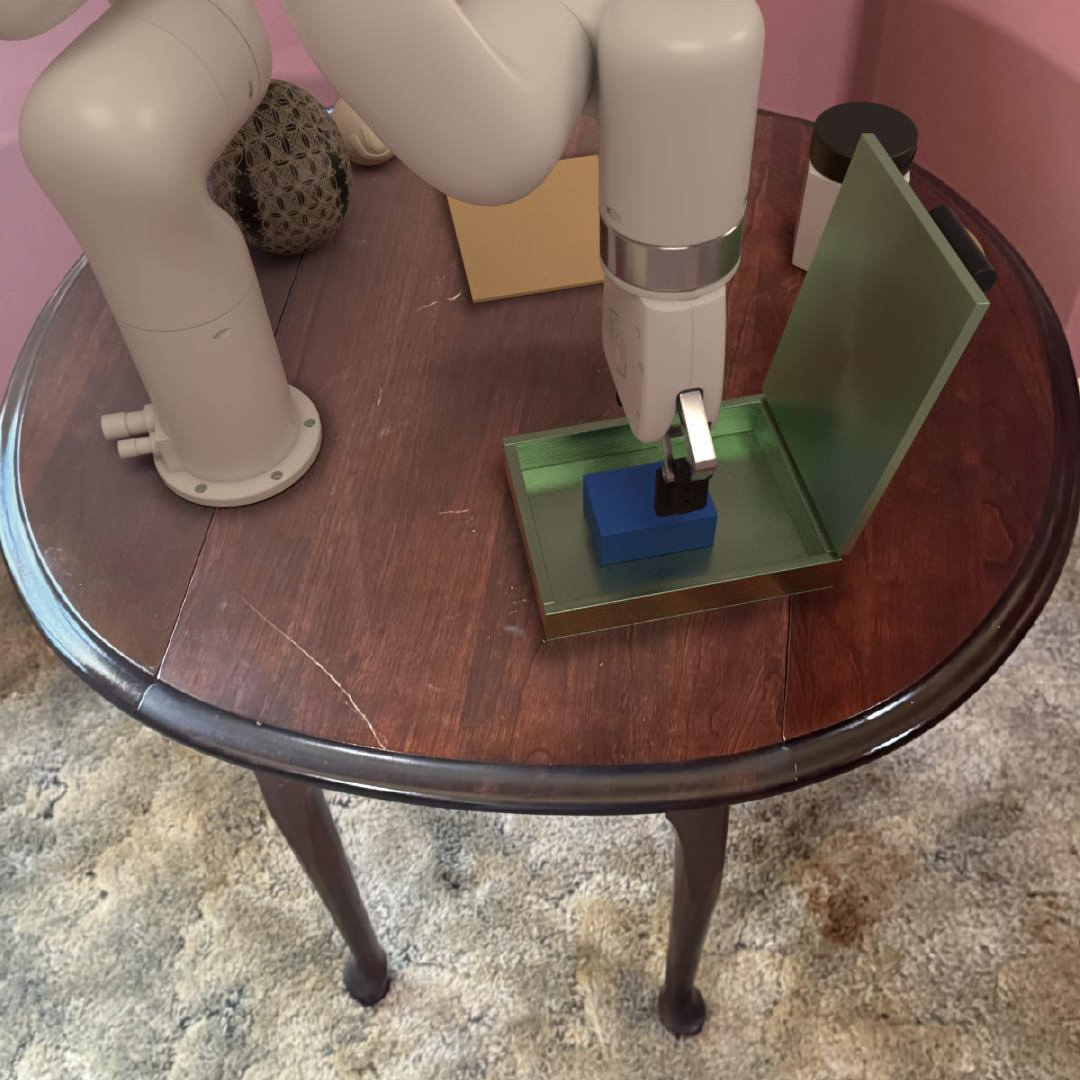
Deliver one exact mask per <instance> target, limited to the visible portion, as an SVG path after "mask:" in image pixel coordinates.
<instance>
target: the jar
mask: <svg viewBox="0 0 1080 1080" xmlns="http://www.w3.org/2000/svg"><path fill="white" fill-rule="evenodd" d="M862 133H873V134H874V135H875V136H876V138H877V139H878V141H879V142H880V144H881V145H882V146H883V148H884V149H885V151H886V152H887V154H888V155H889V157H890V158H891V160H892V161H893V162H894V164H895V165H896V167H897V168H898V170H899V171H900V173H901V174H902V176H903V177H904V178H905V180H906V181H907V183H908V184H909V185H910V181H911V179H910V177H911V174H910V171H911V167H912V164H913V162H914V161H915V157H916V154H917V150H918V142H919V137H920V136H919V135H920V134H919V130H918V127H917V125H916V123H915V122H914V120H913V119H912V118H910V117H909V116H908V115H907V114H906V113H904V112H902V111H901V110H898V109H896V108H895V107H893V106H889V105H886V104H883V103H882V104H881V103H879V102H872V101H849V102H842V103H839V104H835V105H832V106H830V107H828V108H826V109H825V110H823V111H822V112H821V113H820V114H819V115H818V116H817V117H816V118H815V121H814V123H813V126H812V131H811V138H810V143H809V148H808V154H807V160H806V165H805V170H804V175H803V181H802V188H801V191H800V197H799V203H798V208H797V214H796V215H797V216H796V220H795V225H794V232H793V243H792V254H791V255H792V256H791V265H792V266H794V267H796V268H799V269H800V270H803V271H805V272H807V271H808V269H809V266H810V264H811V261H812V259H813V256H814V254H815V251H816V249H817V246H818V244H819V241H820V239H821V236H822V233H823V231H824V228H825V226H826V223H827V221H828V218H829V216H830V213H831V211H832V208H833V206H834V203H835V201H836V198H837V196H838V193H839V190H840V188H841V185H842V183H843V180H844V178H845V175H846V173H847V170H848V168H849V165H850V163H851V160H852V158H853V155H854V153H855V150H856V147H857V145H858V142H859V140H860V137H861V135H862Z"/></svg>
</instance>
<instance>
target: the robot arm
mask: <svg viewBox="0 0 1080 1080" xmlns="http://www.w3.org/2000/svg"><path fill="white" fill-rule="evenodd" d="M280 1H281V3H282V6H283V8H284V10H285V13H286V14H287V17H288V19H289V21H290V23H291V25H292V27H293V29H294V31H295V32H296V35H297V36H298V39H299V41H300V42H301V44H302V46H303V47H304V50H305V51H306V53H307V55H308V56H309V57H310V59H311V61H312V62H313V63H314V65H315V66H316V68H317V70H318V71H319V72H320V74H321V75H322V76H323V77H324V79H325V80H326V81H327V82H328V83H329V85H330V86H331V87H332V88H333V90H334V91H335V92H336V93H337V94H338V95H339V97H340V98H341V97H342V99H343V100H344V101H345V102H346V103H347V104H348V105H349V106H350V107H351V108H352V109H353V110H354V111H355V112H356V114H357V115H358V116H359V117H360V118H361V119H362V120H363V121H364V122H365V123H366V125H367V126H368V127H369V128H370V129H371V130H372V131H373V132H374V133H375V135H376V136H377V137H378V138H379V139H380V140H381V141H382V142H383V143H384V144H385V145H386V146H387V147H388V148H389V150H390V151H391V152H392V153H393V154H394V156H395V157H396V158H397V159H398V160H399V161H401V162H402V163H403V165H404V166H406V167H407V168H408V169H409V170H410V171H412V172H413V173H414V174H415V175H417V176H418V177H419V178H420V179H421V180H422V181H424V182H425V183H426V184H428V185H429V186H431V187H433V188H434V189H436V190H437V191H439V192H440V193H442V194H444V195H445V196H446V195H448V196H450V197H452V198H454V199H456V200H459V201H461V202H464V203H468V204H472V205H477V206H494V207H495V206H500V205H505V204H510V203H513V202H515V201H518V200H520V199H522V198H524V197H526V196H527V195H529V194H530V193H531V192H533V191H534V190H535V189H536V188H538V187H539V186H540V185H541V184H542V183H543V182H544V181H545V180H546V178H547V177H548V176H549V174H550V173H551V172H552V170H553V169H554V167H555V165H556V164H557V162H558V160H560V158H561V156H562V155H563V152H564V151H565V149H566V147H567V145H568V143H569V141H570V139H571V138H572V135H573V133H574V131H575V129H576V127H577V125H578V123H579V120H580V119H581V118H582V117H590V118H591V119H593V120H594V121H595V123H596V126H597V155H598V199H599V261H600V264H601V267H602V270H603V271H604V283H603V292H602V293H603V294H602V314H601V342H602V343H601V344H602V348H603V352H604V356H605V359H606V363H607V366H608V368H609V371H610V372H609V373H610V374H611V377H612V380H613V383H614V385H615V386H614V387H615V401H616V403H617V405H618V407H620V408H622V409H623V411H624V415H625V417H627V420H628V422H629V425H630V427H631V430H632V432H633V434H634V435H635V437H636V438H637V439H638V440H640V441H641V442H643V443H645V444H647V443H652V442H658V447H659V453H660V460H661V467H660V468H658V469H656V477H655V497H654V510H655V513H656V515H657V516H658V517H665V516H670V515H675V514H678V515H680V514H686V513H690V512H693V511H696V510H701V509H703V508H705V507H706V505H707V496H708V486H709V478H712V476H713V472H715V469H716V468H717V460H716V455H715V451H714V447H713V443H712V438H711V434H710V431H711V430H712V429H713V428H714V427H715V425H716V423H717V421H718V417H719V413H720V407H721V400H723V391H724V378H725V364H726V363H725V361H726V340H727V339H726V335H727V333H726V332H727V288H726V287H727V286H726V285H727V283H728V282H729V281H730V280H732V279H733V277H734V276H735V274H736V273H737V271H738V269H739V267H740V265H741V257H742V248H743V247H742V246H743V238H744V229H745V220H746V212H747V202H748V196H749V195H748V194H749V185H750V176H751V167H752V166H751V165H752V159H753V152H754V151H753V150H754V142H755V134H756V124H757V115H758V107H759V98H760V89H761V80H762V73H763V63H764V56H765V55H764V54H765V42H766V41H765V40H766V28H765V20H764V17H763V14H762V11H761V8H760V6H759V5H758V3H757V1H756V0H459V1H457V0H280ZM88 2H89V0H0V41H5V42H17V41H18V42H21V41H27V40H30V39H33V38H35V37H39V36H41V35H44V34H46V33H48V32H49V31H52V30H53V29H55V28H56V27H57V26H59V25H61V24H62V23H64V21H66V20H67V19H68V18H70V17H71V16H73V14H75V13H76V12H77V11H78V10H79V9H81V8H82V7H83V5H85V4H86V3H88ZM107 2H108V4H109V5H110V6H109V7H108V8H107V9H106V10H105V11H104V12H103V13H102V14H101V15H100V16H99V17H98V18H97V19H95V20H94V21H93V22H91V23H90V24H89V25H87V27H85V29H83V31H81V32H80V33H79V35H77V36H76V37H75V38H74V39H73V40H72V41H71V42H70V43H69V44H68V45H67V46H66V47H65V48H64V49H63V50H61V51H60V52H59V54H58V55H57V56H55V57H54V58H53V59H52V60H51V62H49V63H48V64H47V66H46V67H45V68H44V69H43V70H42V71H41V73H40V74H39V76H38V77H37V79H36V80H35V81H34V83H33V84H32V86H31V87H30V89H29V90H28V92H27V95H26V97H25V99H24V102H23V104H22V106H21V110H20V112H19V113H20V114H19V118H18V126H17V127H18V128H17V129H18V132H17V133H18V142H19V143H18V144H19V148H20V152H21V155H22V158H23V160H24V163H25V165H26V167H27V169H28V170H29V172H30V174H31V176H32V178H33V179H34V181H35V182H36V184H38V186H39V188H40V189H41V191H42V192H43V193H44V195H45V196H46V197H47V199H48V200H49V202H50V203H51V204H52V206H53V207H54V208H55V210H56V212H58V214H59V215H60V217H61V218H62V220H63V221H64V223H65V224H66V226H67V227H68V228H69V230H70V232H71V233H72V235H73V236H74V238H75V240H76V242H77V243H78V245H79V247H80V249H81V250H82V252H83V254H84V256H85V258H86V260H87V262H88V264H89V266H90V268H91V270H92V272H93V274H94V276H95V278H96V281H97V283H98V285H99V287H100V289H101V291H102V294H103V296H104V299H105V300H106V303H107V305H108V308H109V309H110V311H111V313H112V315H113V318H114V321H115V323H116V324H117V326H118V329H119V332H120V334H121V336H122V339H123V340H124V343H125V345H126V348H127V350H128V352H129V354H130V357H131V359H132V362H133V364H134V366H135V368H136V370H137V372H138V375H139V377H140V380H141V382H142V384H143V387H144V388H145V391H146V393H147V396H148V398H149V400H150V402H151V403H146V404H144V405H143V408H142V410H135V411H119V412H114V413H107V414H102V415H100V426H101V431H102V434H103V437H104V438H105V440H106V441H115V440H117V444H116V445H117V452H118V455H119V458H120V459H122V460H124V459H130V458H136V457H140V456H141V455H148V454H152V456H153V457H152V458H153V462H154V465H155V468H156V471H157V473H158V475H159V477H160V479H161V480H162V481H163V483H164V484H165V486H166V487H167V488H168V489H169V490H171V491H172V492H173V493H174V494H175V495H177V496H178V497H180V498H182V499H183V500H186V501H187V502H191V503H194V504H197V505H200V506H207V507H214V508H233V507H235V508H236V507H241V506H247V505H252V504H255V503H257V502H261V501H264V500H268V499H269V498H271V497H274V496H276V495H278V494H280V493H282V492H284V491H285V490H286V489H287V488H290V487H291V486H292V485H293V484H295V483H296V482H297V481H299V480H300V479H301V478H302V477H303V476H304V475H305V474H306V473H307V472H308V471H309V469H310V468H311V467H312V465H313V464H314V463H315V461H316V459H317V457H318V454H319V452H320V450H321V446H322V441H323V426H322V422H321V419H320V415H319V412H318V410H317V408H316V405H315V403H314V402H313V401H312V400H311V398H309V396H308V395H306V393H304V392H302V390H300V389H299V388H297V387H295V386H293V385H291V384H289V382H288V379H287V375H286V372H285V369H284V365H283V362H282V359H281V354H280V352H279V349H278V344H277V342H276V339H275V335H274V331H273V327H272V324H271V322H270V318H269V315H268V311H267V307H266V304H265V301H264V297H263V294H262V291H261V287H260V284H259V280H258V277H257V273H256V270H255V266H254V263H253V260H252V258H251V254H250V251H249V247H248V245H247V241H246V240H245V239H244V236H243V234H242V232H241V230H240V228H239V227H238V225H237V223H236V222H235V221H234V219H233V218H232V217H231V216H230V215H229V214H228V213H227V212H226V211H224V210H223V209H222V208H220V207H219V206H218V204H217V203H216V202H214V200H213V199H212V198H211V197H210V194H209V191H208V185H207V181H208V177H209V175H210V173H209V171H210V169H211V167H212V166H213V164H214V163H215V162H216V160H217V159H218V158H219V157H220V155H221V154H222V153H223V151H224V150H225V148H226V146H227V145H228V143H229V142H230V141H231V140H232V138H233V137H234V136H235V135H236V133H237V132H238V131H239V130H240V128H241V127H242V126H243V125H244V123H245V122H246V121H247V120H248V118H249V117H250V116H251V115H252V113H253V112H254V111H255V109H256V108H257V107H258V105H259V104H260V102H261V101H262V99H263V97H264V95H265V93H266V91H267V89H268V86H269V83H270V80H271V79H272V73H273V53H272V46H271V42H270V38H269V35H268V31H267V29H266V26H265V23H264V20H263V18H262V16H261V14H260V12H259V10H258V7H257V4H256V3H255V0H107ZM677 411H678V414H679V418H680V424H675V425H671V424H672V422H673V420H674V419H675V413H676V412H677ZM147 433H148V435H149V436H144V437H133V436H136V435H140V434H141V435H142V434H147ZM680 436H684V440H685V444H686V449H687V457H685V458H680V459H675V460H673V453H672V446H671V440H670V438H674V437H680ZM132 437H133V438H132ZM125 438H126V439H125ZM120 439H121V440H120Z"/></svg>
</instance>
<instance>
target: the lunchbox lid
mask: <svg viewBox="0 0 1080 1080" xmlns="http://www.w3.org/2000/svg"><path fill="white" fill-rule="evenodd" d="M965 228H966V227H965V226H964V225H963V223H962V221H961V220H960V219H959V218H958V216H957V215H956V213H955V212H954V210H953V209H952V207H951V206H949V205H947V204H946V205H945V204H941V205H937V206H935V207H933V208H931V209H930V210H929V211H928V210H927V209H926V207H925V206H924V205H923V204H922V202H921V200H920V199H919V197H918V196H917V194H916V193H915V192H914V190H913V189H912V187H911V185H910V183H909V184H908V183H907V181H906V180H905V178H904V177H903V176H902V174H901V173H900V171H899V170H898V168H897V167H896V165H895V164H894V162H893V161H892V160H891V158H890V157H889V155H888V154H887V152H886V151H885V149H884V148H883V146H882V145H881V144H880V142H879V141H878V139H877V138H876V136H875V135H874V134H873V133H862V135H861V137H860V140H859V142H858V145H857V147H856V150H855V153H854V155H853V158H852V160H851V163H850V165H849V168H848V170H847V173H846V175H845V178H844V180H843V183H842V185H841V188H840V190H839V193H838V196H837V198H836V201H835V203H834V206H833V208H832V211H831V213H830V216H829V218H828V221H827V223H826V226H825V228H824V231H823V233H822V236H821V239H820V241H819V244H818V246H817V249H816V251H815V254H814V256H813V259H812V261H811V264H810V266H809V269H808V271H806V274H805V276H804V278H803V282H802V284H801V287H800V289H799V292H798V294H797V297H796V299H795V302H794V304H793V307H792V310H791V312H790V314H789V317H788V320H787V322H786V325H785V327H784V331H783V332H782V335H781V338H780V340H779V341H778V342H779V343H778V345H777V347H776V350H775V353H774V355H773V358H772V360H771V363H770V365H769V368H768V370H767V373H766V375H765V378H764V380H763V383H762V385H761V391H762V393H764V395H765V397H766V400H767V402H768V404H769V406H770V408H771V410H772V413H773V415H774V417H775V419H776V421H777V423H778V426H779V428H780V430H781V432H782V434H783V436H784V439H785V441H786V443H787V445H788V447H789V449H790V452H791V454H792V456H793V458H794V460H795V462H796V465H797V467H798V469H799V471H800V473H801V475H802V478H803V480H804V482H805V484H806V486H807V489H808V491H809V493H810V495H811V497H812V499H813V502H814V504H815V506H816V508H817V510H818V512H819V515H820V517H821V519H822V521H823V523H824V525H825V528H826V530H827V532H828V534H829V536H830V538H831V541H832V543H833V545H834V547H835V549H836V551H837V554H838V555H840V556H848V555H850V554H851V552H852V551H853V548H854V546H855V545H856V543H857V541H858V539H859V538H860V536H861V534H862V532H863V531H864V529H865V527H866V525H867V523H868V522H869V520H870V518H871V516H872V515H873V513H874V512H875V510H876V508H877V506H878V504H879V502H880V500H881V499H882V497H883V496H884V494H885V492H886V490H887V488H888V486H889V484H890V483H891V481H892V479H893V477H894V475H895V474H896V472H897V470H898V469H899V468H900V465H901V463H902V462H903V460H904V458H905V456H906V455H907V453H908V451H909V450H910V447H911V446H912V444H913V442H914V440H915V438H916V436H917V435H918V433H919V432H920V430H921V428H922V426H923V425H924V422H925V421H926V419H927V417H928V416H929V414H930V412H931V410H932V409H933V407H934V405H935V403H936V401H937V400H938V398H939V396H940V394H941V393H942V391H943V389H944V387H945V385H946V384H947V382H948V380H949V378H950V377H951V375H952V373H953V371H954V369H955V368H956V366H957V364H958V362H959V360H960V359H961V357H962V355H963V354H964V352H965V350H966V348H967V347H968V345H969V344H970V343H969V342H970V341H971V340H972V338H973V335H974V334H975V332H976V331H977V328H978V327H979V325H980V323H981V321H982V320H983V319H984V316H985V315H986V313H987V311H988V310H989V308H990V306H991V302H990V300H989V299H988V298H987V296H986V295H985V293H987V292H988V291H989V290H990V289H992V288H993V287H994V285H995V284H996V282H997V281H998V272H997V271H996V269H995V268H994V266H993V265H992V264H991V262H990V260H989V259H988V258H987V257H986V254H985V253H984V254H985V255H984V254H983V253H982V251H981V250H980V248H979V247H978V246H977V244H976V243H975V241H974V240H973V238H972V237H971V236H970V234H969V233H968V231H967V230H966V229H967V228H966V229H965ZM984 292H985V293H984Z"/></svg>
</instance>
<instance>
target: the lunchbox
mask: <svg viewBox="0 0 1080 1080" xmlns="http://www.w3.org/2000/svg"><path fill="white" fill-rule="evenodd" d="M675 424H680V418H679V414H678V411H677V412H676V413H675V419H674V420H673V422H672V424H671V425H675ZM710 434H711V438H712V443H713V447H714V451H715V455H716V460H717V468H716V469H715V472H713V476H712V478H709V486H708V490H709V493H710V496H711V498H712V501H713V503H714V506H715V508H716V511H717V514H718V518H717V524H716V531H715V537H714V544H713V545H712V546H707V547H702V548H696V549H691V550H685V551H680V552H674V553H669V554H663V555H658V556H652V557H647V558H641V559H636V560H630V561H625V562H620V563H614V564H609V565H603V566H601V565H600V562H599V558H598V555H597V552H596V548H595V545H594V541H593V538H592V535H591V531H590V528H589V524H588V521H587V518H586V514H585V511H584V507H583V475H585V474H591V473H596V472H602V471H608V470H614V469H619V468H625V467H631V466H636V465H642V464H648V463H654V462H659V461H661V460H660V453H659V447H658V442H652V443H647V444H645V443H643V442H641V441H640V440H638V439H637V438H636V437H635V435H634V434H633V432H632V430H631V427H630V425H629V422H628V420H627V417H626V416H622V417H614V418H610V419H603V420H598V421H593V422H586V423H581V424H575V425H568V426H562V427H556V428H550V429H545V430H540V431H533V432H528V433H521V434H515V435H510V436H504V437H503V436H502V437H501V447H502V458H503V467H504V471H505V475H506V480H507V483H508V488H509V491H510V496H511V500H512V503H513V504H512V505H513V508H514V512H515V516H516V520H517V524H518V529H519V532H520V536H521V541H522V545H523V549H524V554H525V557H526V561H527V565H528V569H529V573H530V577H531V581H532V585H533V586H532V587H533V590H534V594H535V599H536V602H537V603H536V604H537V606H538V610H539V614H540V617H541V622H542V626H543V631H544V636H545V639H546V641H547V642H549V641H555V640H560V639H566V638H569V637H575V636H580V635H585V634H590V633H596V632H597V633H598V632H602V631H607V630H612V629H617V628H622V627H623V628H624V627H628V626H632V625H633V626H634V625H640V624H644V623H650V622H655V621H660V620H665V619H666V620H667V619H670V618H675V617H681V616H687V615H692V614H697V613H702V612H707V611H713V610H718V609H723V608H730V607H734V606H740V605H744V604H750V603H755V602H760V601H765V600H772V599H776V598H781V597H788V596H792V595H797V594H803V593H807V592H808V593H809V592H813V591H814V592H815V591H819V590H825V589H830V588H833V587H835V583H836V580H837V577H838V573H839V570H840V567H841V563H842V557H841V555H838V554H837V551H836V549H835V547H834V545H833V543H832V541H831V538H830V536H829V534H828V532H827V530H826V528H825V525H824V523H823V521H822V519H821V517H820V515H819V512H818V510H817V508H816V506H815V504H814V502H813V499H812V497H811V495H810V493H809V491H808V489H807V486H806V484H805V482H804V480H803V478H802V475H801V473H800V471H799V469H798V467H797V465H796V462H795V460H794V458H793V456H792V454H791V452H790V449H789V447H788V445H787V443H786V441H785V439H784V436H783V434H782V432H781V430H780V428H779V426H778V423H777V421H776V419H775V417H774V415H773V413H772V410H771V408H770V406H769V404H768V402H767V400H766V397H765V395H764V393H763V392H762V393H757V394H750V395H745V396H739V397H734V398H726V399H722V400H721V407H720V413H719V417H718V421H717V423H716V425H715V427H714V428H713V429H712V430H711V431H710ZM670 440H671V446H672V453H673V459H677V458H682V457H687V449H686V444H685V440H684V436H680V437H674V438H670Z"/></svg>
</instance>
